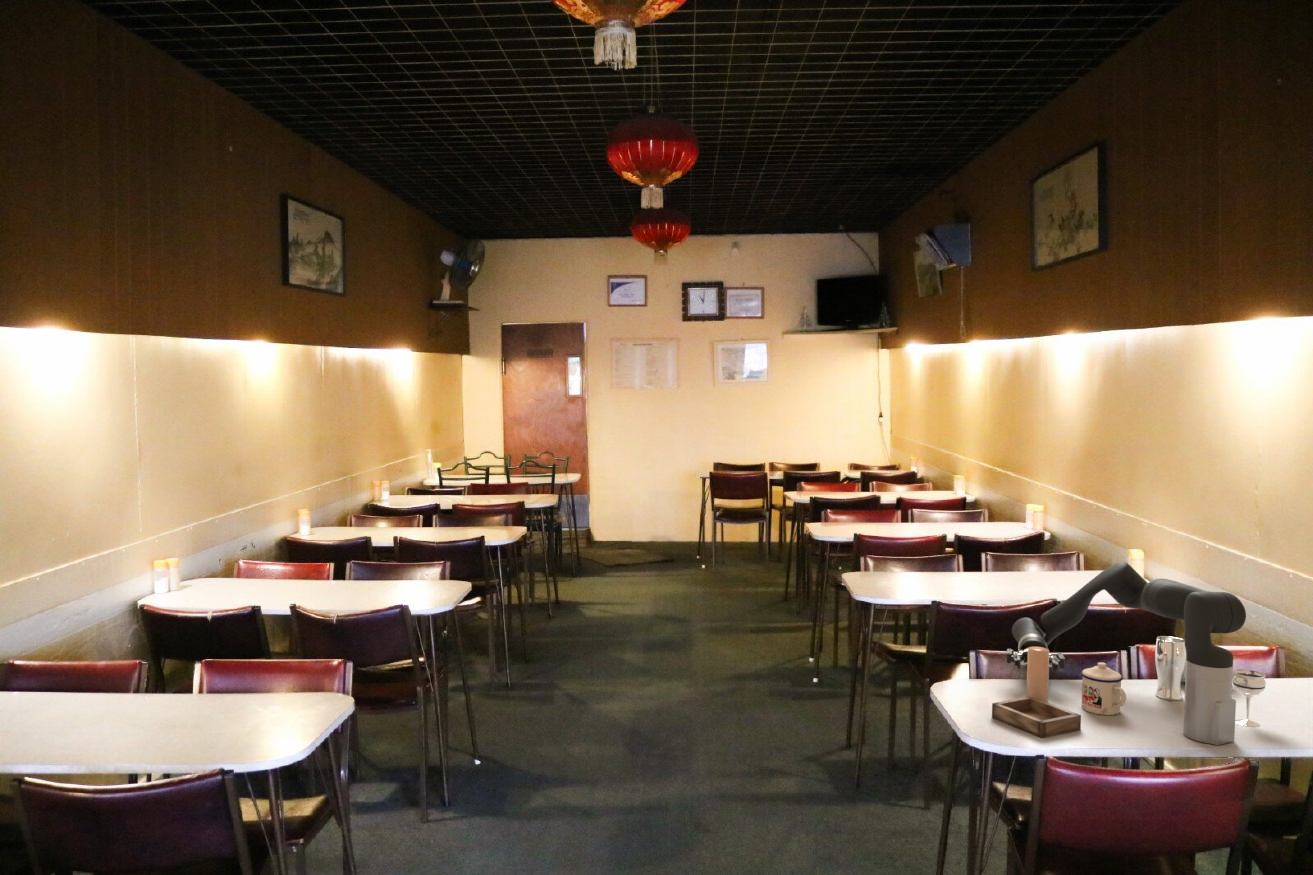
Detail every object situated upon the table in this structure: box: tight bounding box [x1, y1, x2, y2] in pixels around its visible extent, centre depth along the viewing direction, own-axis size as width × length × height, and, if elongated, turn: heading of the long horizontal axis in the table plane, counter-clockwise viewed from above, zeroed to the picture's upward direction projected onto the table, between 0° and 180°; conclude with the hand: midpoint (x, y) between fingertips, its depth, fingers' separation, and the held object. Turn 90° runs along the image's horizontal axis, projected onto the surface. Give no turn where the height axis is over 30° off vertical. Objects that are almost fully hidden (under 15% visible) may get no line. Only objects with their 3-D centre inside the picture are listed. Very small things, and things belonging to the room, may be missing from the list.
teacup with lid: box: [1081, 661, 1127, 716], centre depth 236 cm, size 12×9×12 cm
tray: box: [991, 696, 1082, 739], centre depth 227 cm, size 15×12×4 cm
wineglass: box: [1232, 668, 1267, 728], centre depth 228 cm, size 7×7×12 cm
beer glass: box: [1154, 635, 1186, 701], centre depth 248 cm, size 7×7×15 cm
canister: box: [1026, 647, 1050, 703], centre depth 241 cm, size 5×5×14 cm
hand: (1036, 665), depth 247 cm, fingers open, 8 cm apart
